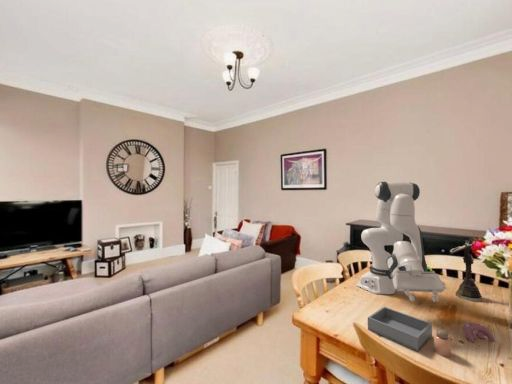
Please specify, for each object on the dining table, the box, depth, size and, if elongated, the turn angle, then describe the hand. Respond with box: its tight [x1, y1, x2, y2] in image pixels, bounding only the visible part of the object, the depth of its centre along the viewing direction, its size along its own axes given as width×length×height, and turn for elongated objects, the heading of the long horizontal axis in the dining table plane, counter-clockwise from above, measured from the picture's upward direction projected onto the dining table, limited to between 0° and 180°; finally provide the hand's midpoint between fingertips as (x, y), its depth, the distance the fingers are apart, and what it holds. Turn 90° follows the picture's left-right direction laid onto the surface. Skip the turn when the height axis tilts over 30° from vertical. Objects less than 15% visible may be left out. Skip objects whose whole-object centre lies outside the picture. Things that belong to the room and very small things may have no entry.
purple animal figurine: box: [461, 322, 496, 343], centre depth 104 cm, size 10×5×7 cm, turn 88°
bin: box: [367, 306, 433, 353], centre depth 108 cm, size 20×16×6 cm
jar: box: [433, 328, 452, 358], centre depth 95 cm, size 5×5×8 cm
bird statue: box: [449, 237, 483, 303], centre depth 143 cm, size 17×13×35 cm
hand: (424, 301), depth 107 cm, fingers open, 8 cm apart
